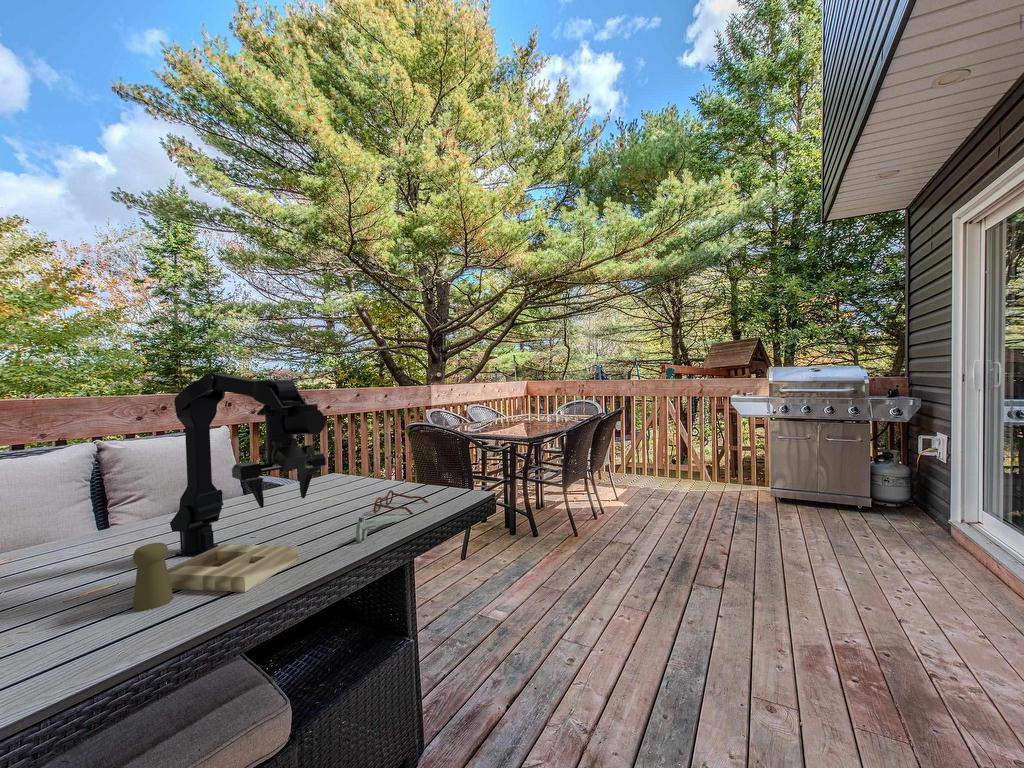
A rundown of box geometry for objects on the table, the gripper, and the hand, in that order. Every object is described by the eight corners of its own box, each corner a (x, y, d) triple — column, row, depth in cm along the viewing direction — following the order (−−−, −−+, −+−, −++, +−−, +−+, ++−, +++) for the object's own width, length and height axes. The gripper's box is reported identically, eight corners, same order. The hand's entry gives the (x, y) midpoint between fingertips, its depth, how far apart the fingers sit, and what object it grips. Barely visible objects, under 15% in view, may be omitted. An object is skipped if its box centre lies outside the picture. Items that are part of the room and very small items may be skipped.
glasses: (391, 503, 151) (390, 488, 151) (428, 503, 149) (428, 488, 149) (372, 516, 138) (371, 499, 138) (413, 516, 136) (412, 499, 136)
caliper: (360, 544, 113) (359, 519, 113) (356, 544, 113) (355, 519, 113) (402, 518, 133) (401, 497, 133) (399, 518, 133) (398, 497, 133)
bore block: (158, 588, 92) (157, 573, 92) (222, 557, 108) (221, 544, 108) (245, 592, 88) (244, 577, 88) (298, 559, 104) (297, 546, 104)
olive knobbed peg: (140, 599, 88) (137, 542, 87) (178, 592, 90) (174, 537, 90) (126, 614, 82) (123, 553, 82) (167, 606, 84) (163, 547, 84)
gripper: (249, 442, 92) (253, 519, 92) (336, 431, 106) (339, 498, 106) (229, 439, 99) (232, 510, 99) (313, 429, 113) (316, 491, 113)
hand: (283, 502), depth 104 cm, fingers open, 9 cm apart
